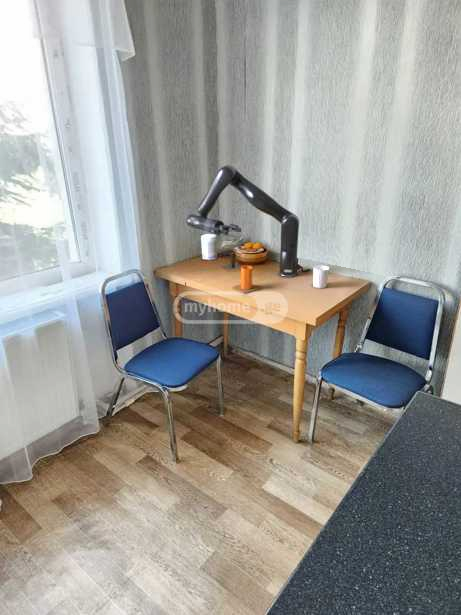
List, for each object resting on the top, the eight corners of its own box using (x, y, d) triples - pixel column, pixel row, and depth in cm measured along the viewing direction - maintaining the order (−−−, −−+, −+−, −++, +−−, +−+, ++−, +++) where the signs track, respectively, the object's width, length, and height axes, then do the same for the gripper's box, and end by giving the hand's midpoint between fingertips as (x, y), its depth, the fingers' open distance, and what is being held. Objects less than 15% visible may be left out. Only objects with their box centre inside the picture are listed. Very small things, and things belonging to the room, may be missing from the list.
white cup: (309, 284, 207) (310, 266, 203) (322, 282, 210) (323, 264, 206) (317, 289, 200) (318, 271, 196) (330, 287, 203) (332, 269, 199)
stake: (236, 264, 238) (236, 249, 234) (242, 268, 230) (242, 253, 227) (222, 266, 235) (222, 251, 231) (228, 270, 227) (228, 255, 223)
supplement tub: (219, 256, 252) (218, 234, 245) (214, 261, 243) (214, 238, 237) (204, 255, 254) (203, 233, 248) (199, 260, 246) (199, 237, 239)
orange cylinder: (241, 285, 205) (241, 265, 201) (252, 285, 205) (252, 265, 200) (240, 289, 200) (241, 269, 195) (251, 289, 200) (252, 269, 195)
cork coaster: (248, 283, 209) (248, 282, 209) (260, 289, 201) (260, 288, 201) (233, 287, 204) (233, 286, 204) (244, 293, 196) (244, 292, 196)
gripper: (203, 221, 204) (223, 226, 193) (223, 217, 212) (244, 222, 201) (203, 235, 207) (223, 241, 196) (224, 231, 215) (244, 236, 204)
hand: (234, 231), depth 198 cm, fingers open, 8 cm apart
